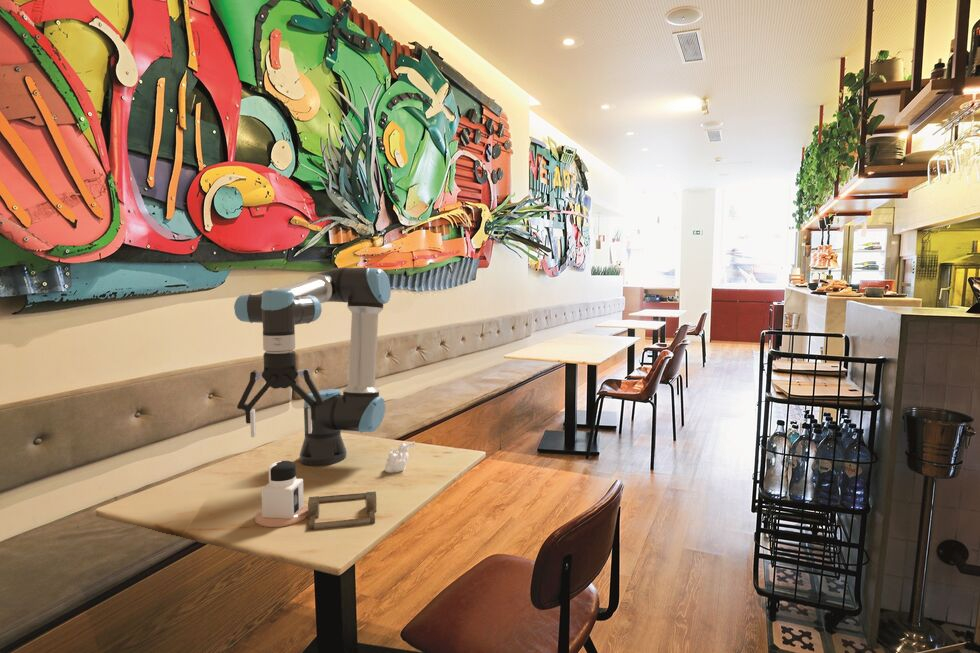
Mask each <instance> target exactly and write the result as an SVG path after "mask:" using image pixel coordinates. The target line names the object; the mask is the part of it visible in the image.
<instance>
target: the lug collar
mask: <svg viewBox="0 0 980 653" xmlns="http://www.w3.org/2000/svg"><path fill="white" fill-rule="evenodd" d="M362 499H365V507H366V508H365V510H366V513H367V514H368V513H369V517H362V518H352V519H351V518H350V519H342V520H331V521H321V522H316V520H317V518H319V516H320V503H327V502H339V501H351V500H362ZM307 507H308V517H307V518H308V519H309V521H308V530H309V531H311V530H322V529H331V528H332V529H333V528H340V527H342V528H344V527H352V526H362V525H363V526H364V525H369V524H371V525H373V524H375V523H376V516H375V513H376V512H377V492H376V491H366V492H362V493H360V492H359V493H346V494H336V495H326V496H325V495H324V496H323V495H322V496H318V495H317V496H309V497H308V501H307Z"/></svg>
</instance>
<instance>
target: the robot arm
mask: <svg viewBox="0 0 980 653" xmlns="http://www.w3.org/2000/svg"><path fill="white" fill-rule="evenodd" d="M391 290H392V289H391V282H390V280H389V277H388V275H387V273H386V271H384V270H383V269H381V268H378V267H376V268H375V267H339V268H338V267H336V268H333V269H328V270H325V271H321V272H318V273H315V274H312V275H310V276H309V277H308V278H307V279H306V280H303V281H299V282H296V283H292V284H290V285H286V286H282V287H278V288H274V289H265V290H263V291H262V293H257V294H252V293H249V294H241V295H239V296H238V297H237V298H236V300H235V302H234V304H233V305H234V306H233V309H234V314H235V317H236V319H238V320H239V321H240V322H246V323H250V324H252V323H260V324H261V323H262V350H263V351H264V352H263V371H257V370H255V369H254V370H251V372H250V374H249V382H248V383H247V386H246V388H245V389H244V392H243V394H242V395H241V398H240V400H239V401H238V404H237V406H236V408H237V410H243V411H244V413H245V423H246V424H250V438H255V437H256V435H257V425H256V408H253V407H254V406H255V405H256V404H257V403H258V401H260V399H261V398H262V396H263V395H264V394H265V393H266V392H267V391H268V390H269V388H272V389H274V390H275V389H276V390H277V389H288V388H291V389H292V390H294V392H296V393H297V394H298V395H299V397H301V399H303V401H304V402H303V417H304V418H303V419H304V420H303V421H304V438H303V441H302V442H303V443H302V445H301V449H300V452H299V462H300V463H301V464H303V465H307V466H311V467H312V466H314V467H315V466H316V467H319V466H329V465H330V466H331V465H334V464H339V463H340V462H342V461H343V460H346V458H347V449H346V446H345V443H344V440H343V436H342V433H341V432H342V431H347V432H359V433H361V434H362V433H373V432H375V431H377V430H378V429H379V427H380V426H381V424H382V423H383V419H384V417H385V413H386V412H385V411H386V403H385V402H386V401H385V399H384V398H383V397H382V396H380V390H379V389H378V388H377V387H376V370H377V349H378V327H379V326H378V325H379V315H380V313H381V312H382V311H383V310H384V305H386V304H387V303H389V301H390V298H391V296H392V295H391V293H392V292H391ZM327 302H328V303H330V302H333V303H347V306H346V307H347V308H348V310H349V311H350V313H351V321H350V323H351V324H350V326H351V327H350V346H349V362H348V363H349V364H348V366H349V367H348V369H349V370H348V381H347V382H348V383H347V386H346V387H345V388H344V389H343V391H342V392H343V393H342V392H341V390H340V389H338V388H329V389H321V390H318V389H317V387H316V385H315V383H314V381H313V379H312V377H311V374H310V370H309V368H304V369H300V370H299V369H297V362H296V361H297V358H296V356H297V355H296V352H295V351H294V350H296V332H295V331H296V330H295V328H296V327H295V326H296V325H302V324H310V323H313V322H316V321H317V320H318V319H319V318H320V317H321V314H322V310H323V308H322V304H324V303H327ZM298 376H300V378H302V379H303V380H304V381H305V384H306V385H307V387H308V389H309V390H310V393H308V392H307V391H305V389H304V388H303V387H301V385H299V383H298V382H297V381H296V378H297V377H298ZM260 378H262V379H264V381H265V384H264V385H263V386H262V387H261V388H260V390H259V391H258V392H257V394H256V395H254V397H252V399H251V400H250V402H248V403H246V402H247V401H248V398H249V396H250V394H251V392H252V390H253V389H254V386H255V384H256V381H258V380H259V379H260ZM341 393H342V394H341Z"/></svg>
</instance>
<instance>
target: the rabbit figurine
mask: <svg viewBox="0 0 980 653" xmlns="http://www.w3.org/2000/svg"><path fill="white" fill-rule="evenodd" d="M415 442H416V441H412V442H411V441H410V442H409V443H404V442H403V441H401V443H400V444H399V445H398V449H397V448H395V449H394V450H393V446H391V448H390V452H388V457H387V459H386V461H385V467H384V471H385V472H386V473H389V474H392V473H400V472H402V471H405V470H406V464H407V463H408V461H409V460H410V455H409V448H414V446H415Z"/></svg>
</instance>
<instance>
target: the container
mask: <svg viewBox="0 0 980 653" xmlns="http://www.w3.org/2000/svg"><path fill="white" fill-rule="evenodd" d="M304 502H305V500H304V479H303V478H297V465H296V463H295V462H294V461H290V460H280V461H276V462H273V463H271V464H270V465H269V466H268V482H267V484H266V485H264V486H263V487H262V488H261V510H262V517H263V518H280V519H291V518H292V517H293V516H294V515H295V514H296V513H297V512H298V511H300V510H301V509H302V508H303V506H304V505H305V504H304Z"/></svg>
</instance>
